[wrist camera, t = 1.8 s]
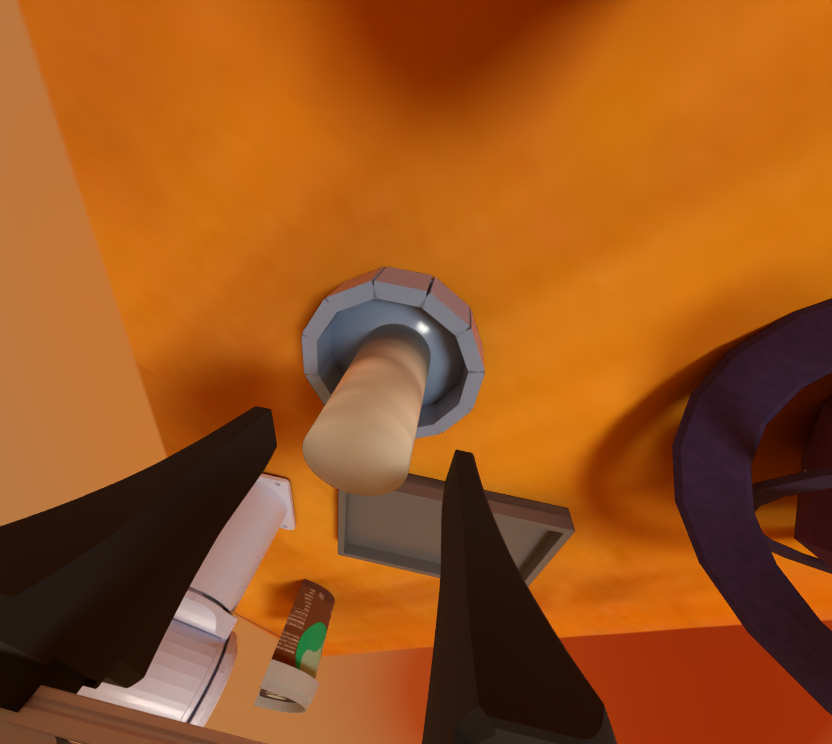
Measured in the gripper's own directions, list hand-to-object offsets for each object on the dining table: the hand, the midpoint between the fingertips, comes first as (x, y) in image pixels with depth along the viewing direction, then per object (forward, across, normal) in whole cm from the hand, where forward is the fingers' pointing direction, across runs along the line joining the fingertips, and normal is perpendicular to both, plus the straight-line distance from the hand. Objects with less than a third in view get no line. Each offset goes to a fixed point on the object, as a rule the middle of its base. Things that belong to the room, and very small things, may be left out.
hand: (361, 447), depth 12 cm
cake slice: (+8, +6, +41) cm, 42 cm away
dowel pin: (+7, 0, 0) cm, 7 cm away
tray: (+8, -6, +17) cm, 20 cm away
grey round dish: (+8, 0, 0) cm, 8 cm away
